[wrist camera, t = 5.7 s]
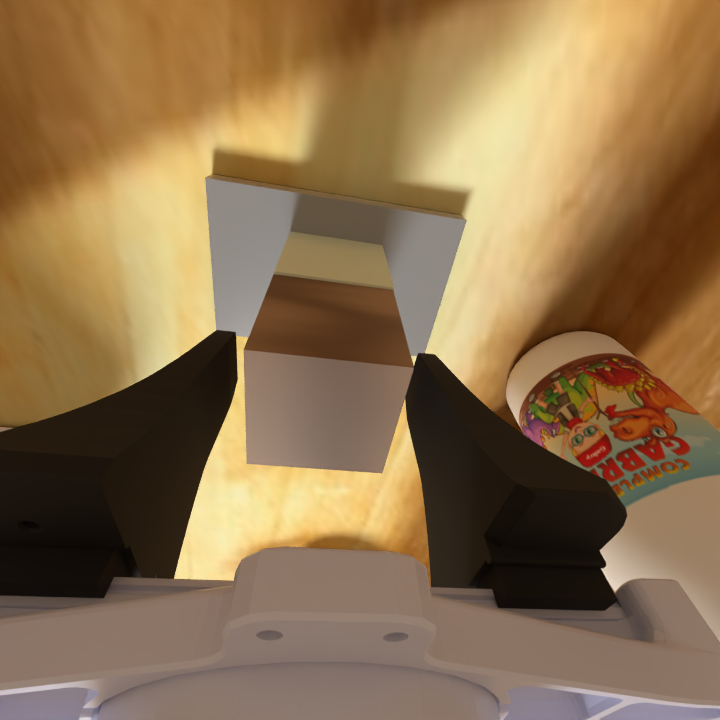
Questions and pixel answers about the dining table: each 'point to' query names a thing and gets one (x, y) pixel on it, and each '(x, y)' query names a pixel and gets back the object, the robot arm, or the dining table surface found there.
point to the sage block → (334, 261)
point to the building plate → (330, 219)
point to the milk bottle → (630, 457)
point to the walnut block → (324, 376)
